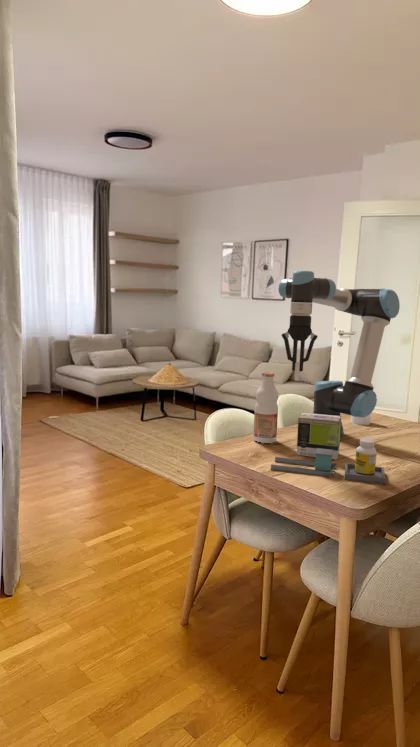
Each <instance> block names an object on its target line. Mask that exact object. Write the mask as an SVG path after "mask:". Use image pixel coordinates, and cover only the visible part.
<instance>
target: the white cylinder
mask: <svg viewBox="0 0 420 747" xmlns="http://www.w3.org/2000/svg"><path fill="white" fill-rule="evenodd" d="M371 416H372V413H371V414H369V415H368V416H367V417H363V418H362V417H354V416H351V415H350V423H351V424H354V425H359V426H369V425H371Z"/></svg>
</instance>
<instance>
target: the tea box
mask: <svg viewBox="0 0 420 747" xmlns="http://www.w3.org/2000/svg"><path fill="white" fill-rule="evenodd" d="M297 419H298V420H297V435H296V438H297V440H296V455H297V456H304V457H312V458H316V455H315V453H316V449H317V448H321V449H330V450H333V453H332V460H338V456H339V454H340V446H341V444H340V443H341V436H340V431H341V422H342V415H340V416H335V415H324V414H313V412H312V413H311V412H302V413H301V414H300V415H299V416H298V418H297Z"/></svg>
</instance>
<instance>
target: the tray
mask: <svg viewBox="0 0 420 747" xmlns="http://www.w3.org/2000/svg"><path fill="white" fill-rule="evenodd" d="M344 466H345V467H344V478H343V479H344V481H345V480H346V481H347V480H348V481H351V482H352V481H354V482H360V483H369V484H378V485H385V486H386V481H387V480H386V479H387V478H386V473H385V467H383V466H377V465H375V474H374V476H367V475H359V474H356V473H355V463H348V462H345V465H344Z"/></svg>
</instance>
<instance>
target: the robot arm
mask: <svg viewBox="0 0 420 747" xmlns="http://www.w3.org/2000/svg"><path fill="white" fill-rule="evenodd" d="M278 293H279V295H280V296H281V297H282V298H283V299H284V298H285V299H291V300H290V311H289V312H290V314H291V315H290V316H289V327H288V329H287V331H286V332H284V333H282V334H281V337H282V339H283V342H284V347H285V353H286V357H287V360H288V361H290V362H291V363H292V366H291V370H292V372H294V378H293V379H294V381H296V382H297V381H298V382H299V381H300V377H301V376H300V375H301V374H300V372H303V371H304V363H305V362H308V361H309V360H310V357H311V354H312V350H313V347H314V344H315V341H316V340H317V339H318V335H317V334H315V333H313V330H312V316H311V315H312V311H313V303H315V304H319V305H324V306H327V307H332V308H334V309H335V310H337V311H339V312H343V313H347V314H350V315H354V316H357V317H360V320H362V322H363V325H362V328H361V332H360V337H359V341H358V343H357V349H356V353H355V356H354V360H353V365H352V368H351V373H350V377H349V378H348V379H345V380H344V381H345V382H343V381H341V380H321V381H318V382H316V383H315V385H314V392H313V393H314V397H313V398H314V399H313V412H312V413H313V414H324V415H335V416H341V415H342V414H343V415H348V416H350V417H351V416H354V417H362V418H363V417H367V416H368V415H369V414H371V415H372V413H373V412H374V410H375V408H376V406H377V402H378V401H377V400H378V398H377V397H378V396H377V394H376V392H375V391H374V389H375V386H374V385H373V383H372V379H373V376H374V373H375V369H376V366H377V365H376V364H377V360H378V355H379V351H380V349H381V345H382V344H381V343H382V340H383V336H384V332H385V327H387V326H388V325H390V322H391V319H394V318H397V316H398V314H399V313H400V307H401V306H400V305H401V304H400V299H399V296H398V294H397V293H396V291H394V290H393V289H389V288H388V289H387V288H354V289H353V288H352V289H351V288H350V289H349V288H339V289H337V285H336V283H335V281H333V279H330V278H327V277H325V278H323V277H315V273H314V271H312V270H311V271H309V270H295V271H293V273H292V278H291V277H288V278H283V279H282V280H280V282H279V284H278ZM289 337H291V339H292V342H293V346H292V352H291V348H290V347H291V346H290V340H289ZM308 338H310V342H309V344H308V345H309V346H308V348H307V352H306V354H305V345H306V340H307V339H308ZM299 342H300V346H299V347H300V348H299V349H300V351H299V361H297V359H298V343H299ZM343 435H344V426H343V422H342V421H341V431H340V437H342V436H343Z"/></svg>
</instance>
